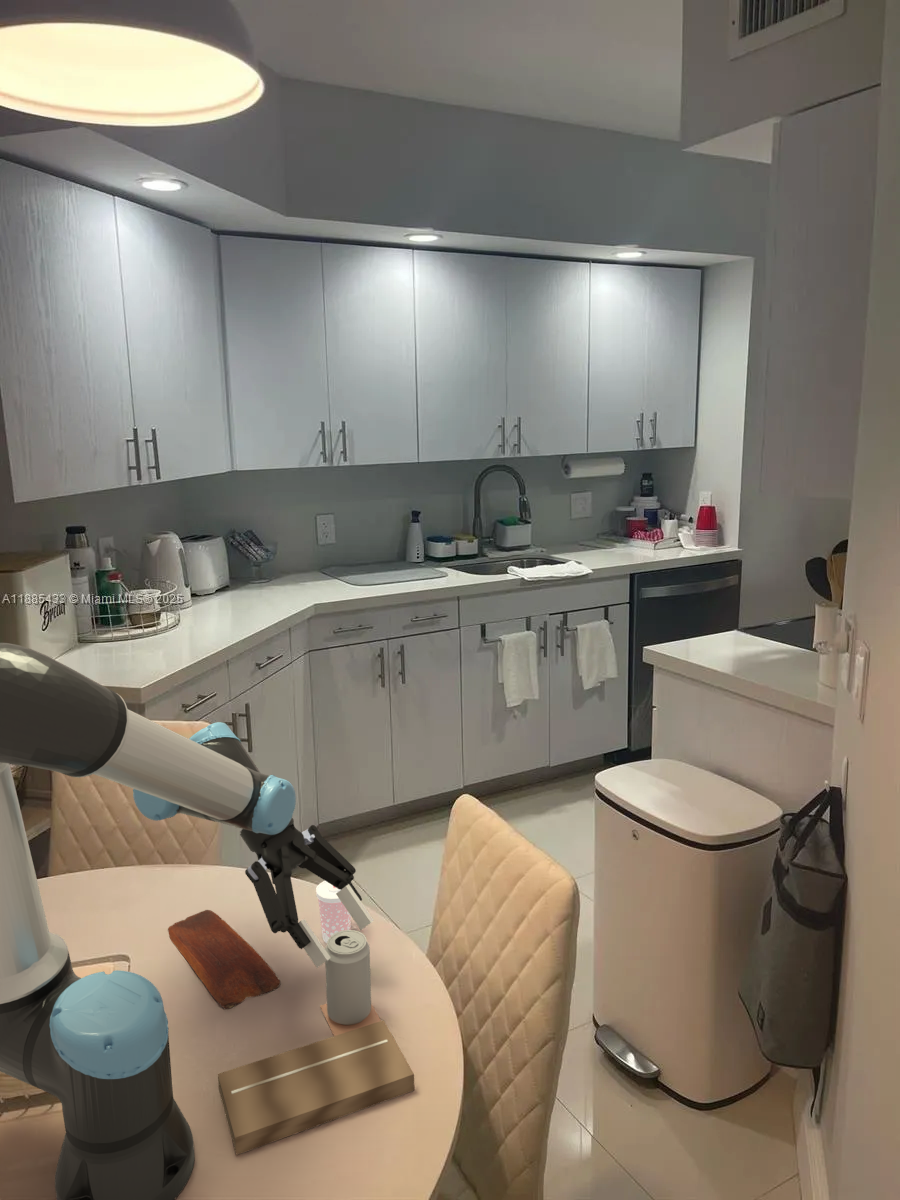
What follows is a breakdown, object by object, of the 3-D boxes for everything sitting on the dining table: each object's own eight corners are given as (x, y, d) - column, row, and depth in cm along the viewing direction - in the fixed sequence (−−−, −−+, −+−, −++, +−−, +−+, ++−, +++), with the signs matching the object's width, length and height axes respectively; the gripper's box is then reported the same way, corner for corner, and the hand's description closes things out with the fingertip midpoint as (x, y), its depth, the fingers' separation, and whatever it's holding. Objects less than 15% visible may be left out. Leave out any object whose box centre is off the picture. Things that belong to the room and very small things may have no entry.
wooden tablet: (285, 988, 133) (284, 979, 133) (223, 1016, 128) (222, 1006, 127) (216, 909, 154) (216, 900, 154) (160, 929, 148) (159, 921, 148)
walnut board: (236, 1155, 104) (234, 1137, 103) (218, 1089, 113) (217, 1073, 113) (414, 1090, 113) (413, 1073, 112) (384, 1035, 123) (383, 1019, 122)
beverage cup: (341, 951, 141) (338, 874, 138) (310, 941, 144) (306, 865, 141) (361, 931, 146) (359, 856, 143) (331, 921, 149) (328, 848, 146)
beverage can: (345, 993, 131) (342, 922, 128) (380, 1008, 128) (378, 936, 125) (318, 1018, 126) (314, 945, 123) (354, 1034, 122) (351, 960, 120)
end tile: (334, 1038, 122) (334, 1036, 122) (320, 1007, 128) (320, 1005, 128) (381, 1023, 125) (381, 1021, 125) (364, 993, 131) (364, 991, 131)
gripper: (295, 799, 141) (376, 915, 137) (191, 860, 122) (281, 997, 118) (320, 776, 137) (404, 895, 133) (216, 836, 118) (310, 976, 114)
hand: (346, 943), depth 125 cm, fingers open, 10 cm apart
